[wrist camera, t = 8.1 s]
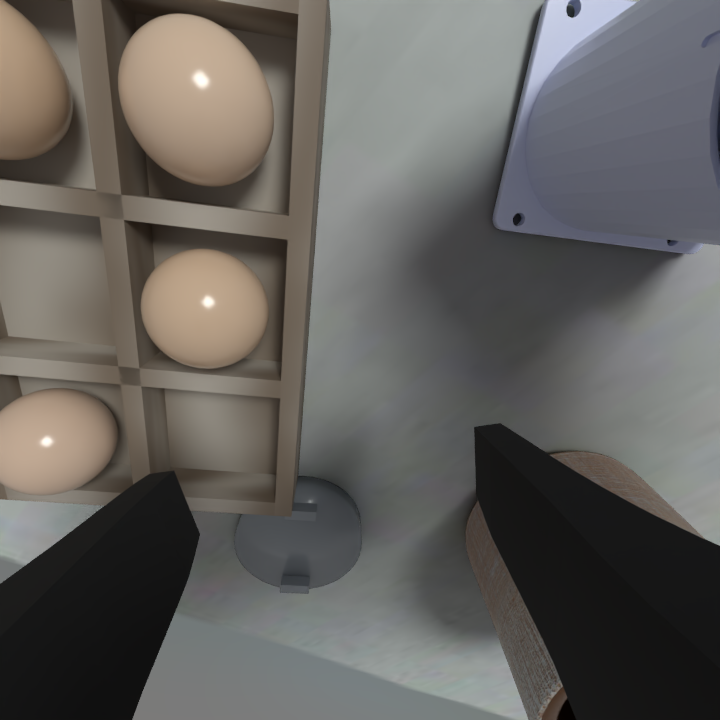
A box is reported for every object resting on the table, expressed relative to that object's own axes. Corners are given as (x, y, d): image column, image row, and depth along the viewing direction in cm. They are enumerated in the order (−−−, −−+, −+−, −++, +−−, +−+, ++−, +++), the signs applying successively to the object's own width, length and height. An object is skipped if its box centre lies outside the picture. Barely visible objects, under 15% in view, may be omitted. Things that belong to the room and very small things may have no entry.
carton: (331, 28, 14) (327, -16, 11) (298, 475, 21) (291, 516, 18) (-79, -41, 13) (-198, -110, 10) (38, 457, 20) (-12, 498, 17)
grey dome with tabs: (367, 480, 22) (369, 508, 20) (353, 569, 24) (354, 601, 22) (241, 472, 21) (230, 499, 19) (240, 564, 24) (231, 596, 22)
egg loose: (297, 287, 16) (283, 316, 12) (241, 363, 17) (211, 412, 13) (205, 219, 15) (156, 225, 11) (152, 304, 16) (90, 339, 12)
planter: (677, 484, 23) (892, 664, 14) (563, 599, 26) (676, 802, 17) (531, 415, 20) (676, 578, 12) (428, 551, 24) (478, 757, 15)
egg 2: (131, 375, 17) (67, 428, 13) (140, 455, 19) (85, 523, 15) (29, 367, 17) (-69, 417, 13) (47, 448, 19) (-35, 516, 15)
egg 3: (286, 59, 13) (261, -5, 9) (280, 196, 15) (257, 193, 11) (154, 38, 13) (68, -39, 9) (164, 181, 14) (94, 172, 10)
